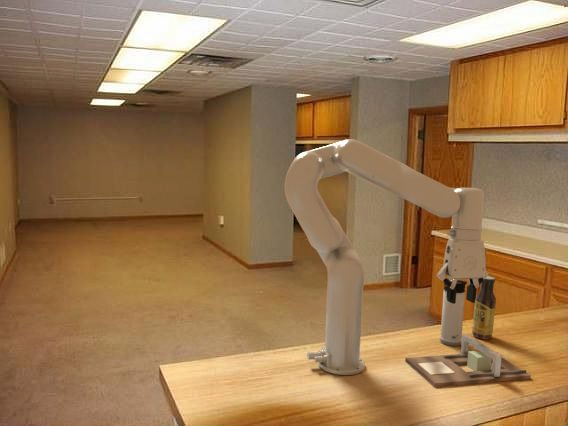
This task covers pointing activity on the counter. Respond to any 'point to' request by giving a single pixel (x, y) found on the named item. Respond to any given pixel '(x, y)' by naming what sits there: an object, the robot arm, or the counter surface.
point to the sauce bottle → (484, 310)
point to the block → (478, 361)
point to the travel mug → (453, 316)
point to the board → (461, 371)
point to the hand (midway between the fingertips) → (460, 301)
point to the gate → (484, 349)
